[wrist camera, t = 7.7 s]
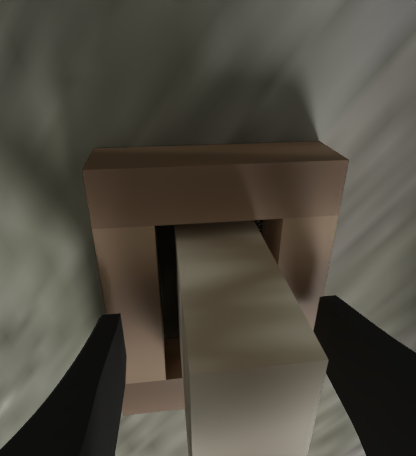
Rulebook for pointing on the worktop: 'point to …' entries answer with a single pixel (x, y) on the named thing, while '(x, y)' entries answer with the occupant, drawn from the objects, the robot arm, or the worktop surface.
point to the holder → (203, 213)
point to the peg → (243, 346)
